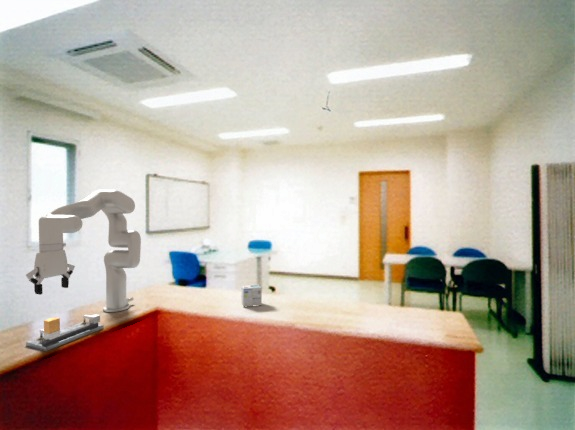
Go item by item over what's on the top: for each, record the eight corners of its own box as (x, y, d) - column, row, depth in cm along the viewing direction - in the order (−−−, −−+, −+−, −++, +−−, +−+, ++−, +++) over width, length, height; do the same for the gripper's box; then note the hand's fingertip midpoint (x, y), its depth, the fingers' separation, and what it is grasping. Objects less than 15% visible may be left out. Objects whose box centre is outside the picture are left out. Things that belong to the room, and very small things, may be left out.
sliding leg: (46, 335, 127) (45, 315, 127) (60, 338, 124) (60, 318, 124) (35, 339, 123) (35, 318, 123) (49, 342, 120) (49, 321, 120)
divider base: (84, 324, 145) (84, 311, 144) (103, 328, 140) (103, 315, 140) (26, 345, 122) (25, 330, 122) (46, 351, 118) (45, 335, 118)
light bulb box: (259, 302, 181) (259, 284, 181) (261, 306, 175) (262, 287, 175) (241, 304, 178) (241, 285, 178) (243, 307, 171) (243, 288, 171)
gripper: (67, 244, 131) (68, 284, 132) (19, 250, 115) (21, 295, 116) (79, 245, 128) (80, 286, 129) (32, 251, 112) (33, 298, 113)
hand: (52, 290), depth 122 cm, fingers open, 9 cm apart
